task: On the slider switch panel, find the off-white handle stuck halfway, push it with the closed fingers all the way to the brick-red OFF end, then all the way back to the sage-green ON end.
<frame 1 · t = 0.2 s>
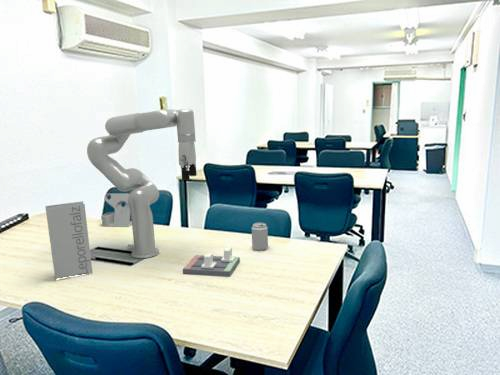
hand: (189, 177, 183), 36 cm above the table, tool pointing down, fingers open, 9 cm apart
tripped breaker: (208, 260, 172), point 5 cm above the table, slide at 0.0 cm
phone holder: (118, 224, 247), on the table
can: (260, 249, 198), on the table
brochure: (73, 275, 174), on the table
slider switch panel: (212, 267, 177), on the table
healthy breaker: (228, 254, 178), point 5 cm above the table, slide at 6.0 cm
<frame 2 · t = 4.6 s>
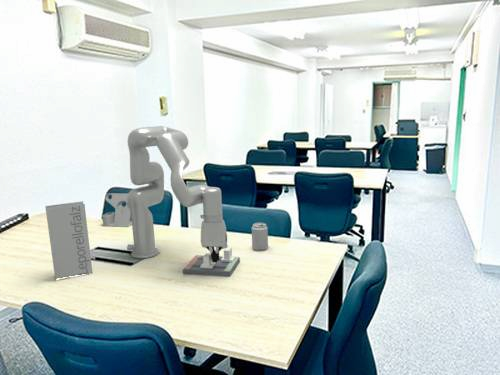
hand: (215, 261, 171), 5 cm above the table, tool pointing down, fingers closed
tripped breaker: (207, 260, 172), point 5 cm above the table, slide at -0.4 cm, touching gripper
everything else where it was.
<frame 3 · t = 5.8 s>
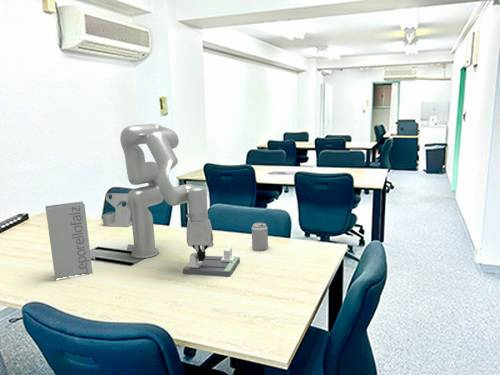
hand: (201, 259, 173), 5 cm above the table, tool pointing down, fingers closed
tripped breaker: (194, 259, 173), point 5 cm above the table, slide at -6.2 cm, touching gripper
everything else where it was.
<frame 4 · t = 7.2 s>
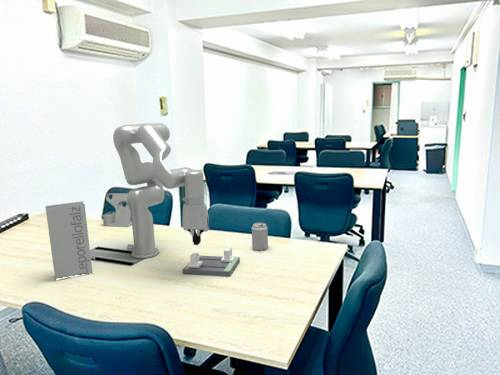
hand: (196, 244, 172), 12 cm above the table, tool pointing down, fingers closed
tripped breaker: (194, 259, 173), point 5 cm above the table, slide at -6.1 cm
everything else where it was.
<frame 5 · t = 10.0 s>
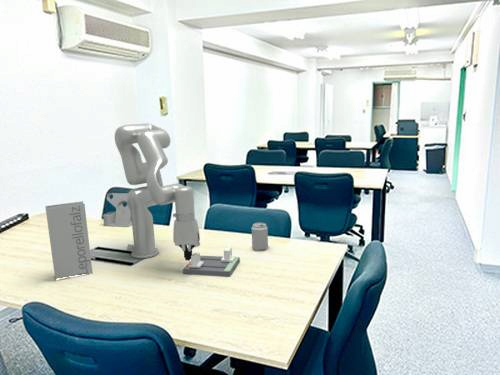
hand: (188, 259, 174), 5 cm above the table, tool pointing down, fingers closed
tripped breaker: (195, 259, 173), point 5 cm above the table, slide at -5.6 cm, touching gripper
everything else where it was.
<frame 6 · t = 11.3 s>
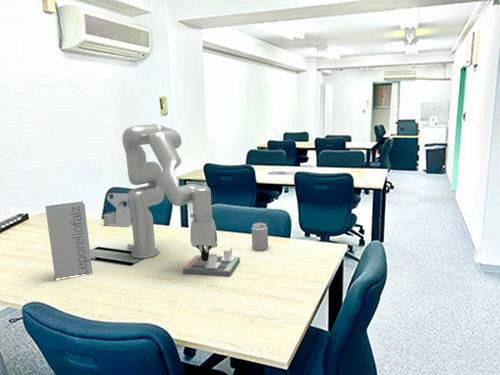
hand: (205, 260, 172), 5 cm above the table, tool pointing down, fingers closed
tripped breaker: (212, 260, 172), point 5 cm above the table, slide at 1.8 cm, touching gripper
everything else where it was.
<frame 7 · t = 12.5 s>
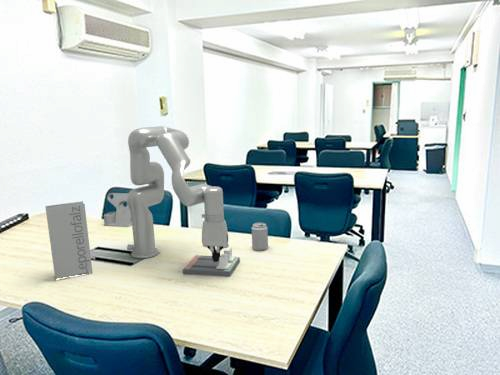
hand: (216, 260, 171), 5 cm above the table, tool pointing down, fingers closed
tripped breaker: (223, 261, 171), point 5 cm above the table, slide at 6.5 cm, touching gripper
everything else where it was.
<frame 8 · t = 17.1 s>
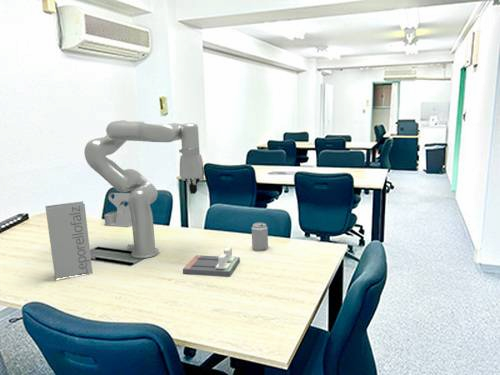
hand: (193, 193, 186), 29 cm above the table, tool pointing down, fingers closed
tripped breaker: (222, 261, 171), point 5 cm above the table, slide at 6.1 cm
at the end: tripped breaker slide at 6.1 cm; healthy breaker slide at 6.0 cm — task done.
